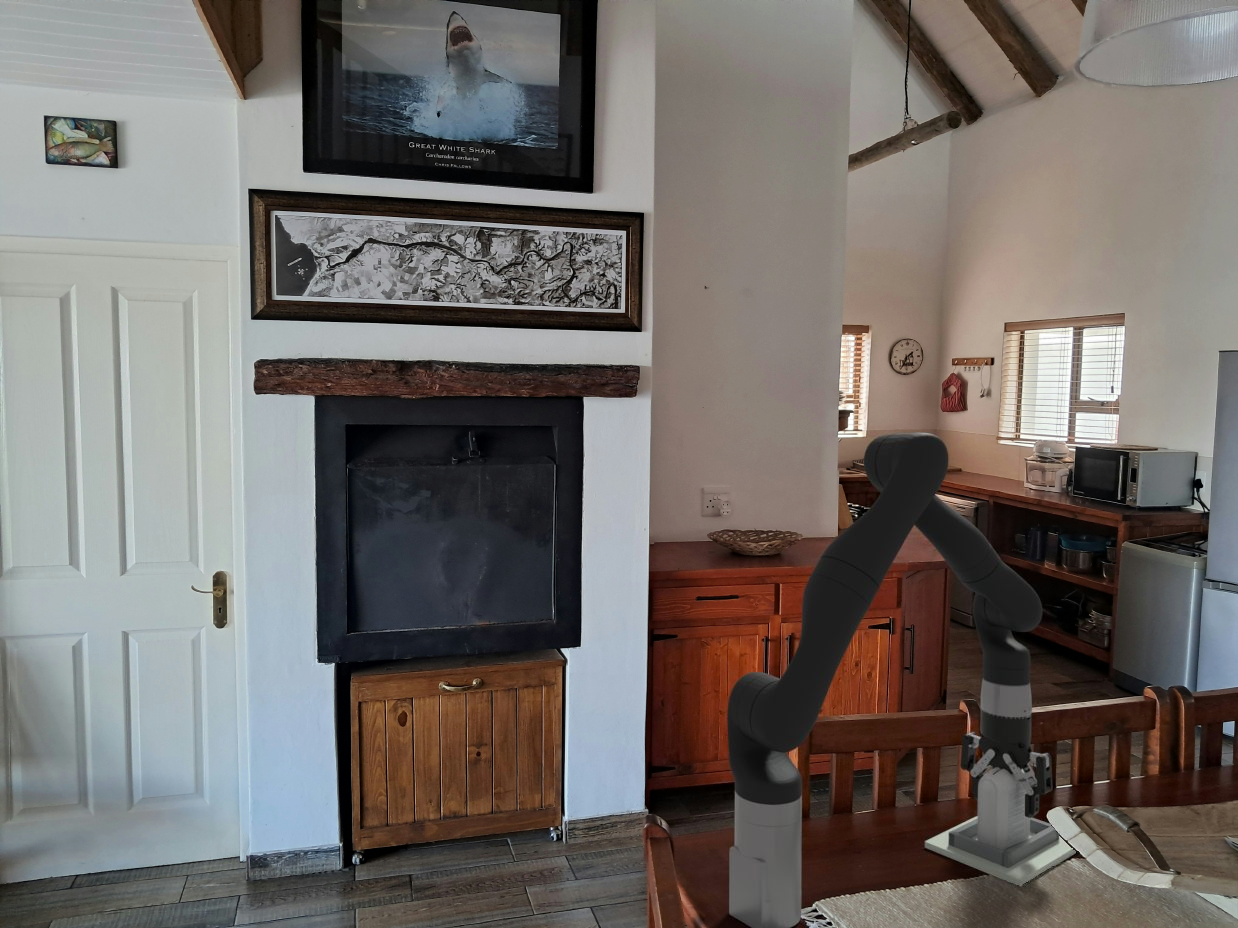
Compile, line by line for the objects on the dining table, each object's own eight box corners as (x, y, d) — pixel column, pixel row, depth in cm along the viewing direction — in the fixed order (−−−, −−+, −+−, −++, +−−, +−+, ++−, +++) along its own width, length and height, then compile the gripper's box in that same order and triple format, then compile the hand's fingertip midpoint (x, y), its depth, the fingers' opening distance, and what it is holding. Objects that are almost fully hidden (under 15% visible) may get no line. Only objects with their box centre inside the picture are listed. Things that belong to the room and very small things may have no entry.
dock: (1020, 886, 132) (1020, 866, 131) (924, 847, 144) (924, 829, 144) (1083, 847, 144) (1083, 829, 144) (990, 814, 156) (990, 798, 156)
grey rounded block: (1009, 829, 149) (1010, 755, 148) (1034, 838, 145) (1035, 763, 145) (972, 845, 143) (973, 768, 142) (997, 855, 139) (998, 777, 139)
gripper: (952, 701, 147) (951, 798, 147) (1037, 723, 135) (1036, 828, 136) (977, 693, 151) (976, 787, 152) (1061, 714, 140) (1060, 815, 140)
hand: (1004, 807), depth 144 cm, fingers open, 8 cm apart
